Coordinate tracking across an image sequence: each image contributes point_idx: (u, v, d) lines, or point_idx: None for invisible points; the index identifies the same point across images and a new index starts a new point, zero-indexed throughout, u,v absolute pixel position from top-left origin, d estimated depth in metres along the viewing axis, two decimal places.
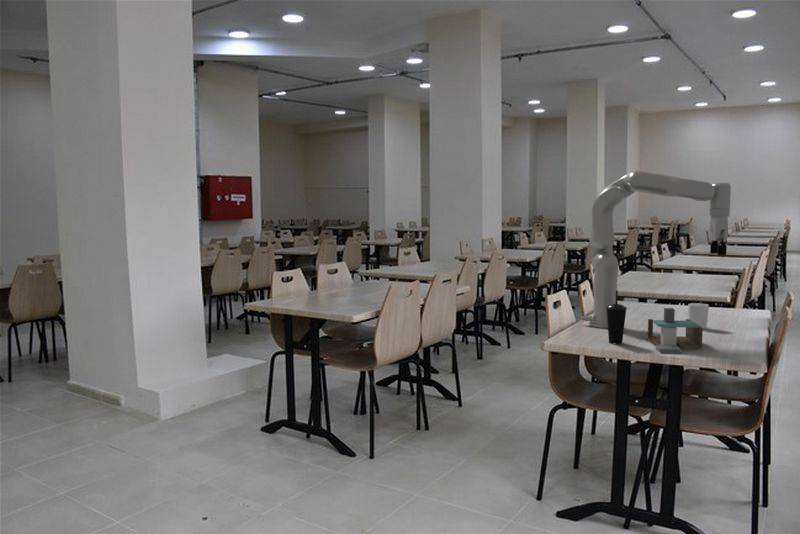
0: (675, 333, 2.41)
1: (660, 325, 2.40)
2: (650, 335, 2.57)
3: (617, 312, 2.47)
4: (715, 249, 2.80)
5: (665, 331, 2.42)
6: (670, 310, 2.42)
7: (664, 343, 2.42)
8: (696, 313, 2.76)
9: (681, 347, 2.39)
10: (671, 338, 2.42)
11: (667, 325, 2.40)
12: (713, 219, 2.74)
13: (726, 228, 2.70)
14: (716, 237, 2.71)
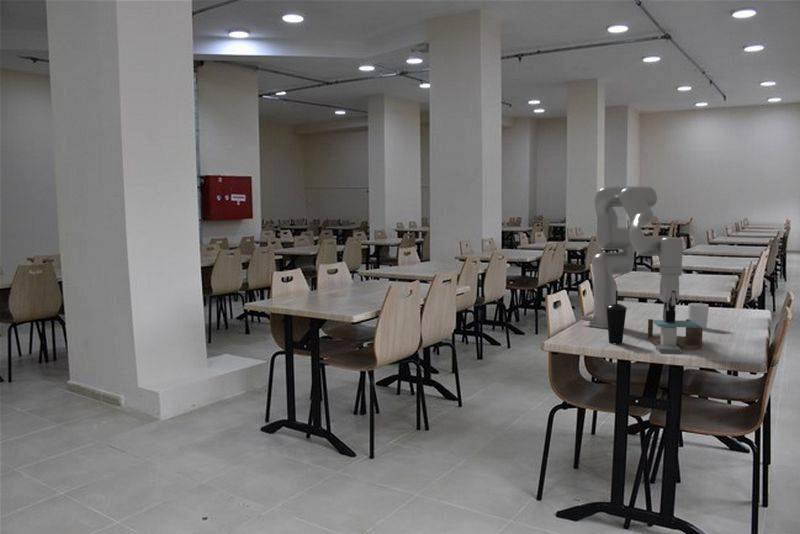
0: (675, 333, 2.41)
1: (660, 325, 2.40)
2: (650, 335, 2.57)
3: (617, 312, 2.47)
4: None
5: (665, 331, 2.42)
6: None
7: (664, 343, 2.42)
8: (696, 313, 2.76)
9: (681, 347, 2.39)
10: (671, 338, 2.42)
11: (667, 325, 2.40)
12: (663, 278, 2.41)
13: (677, 289, 2.37)
14: (666, 299, 2.38)
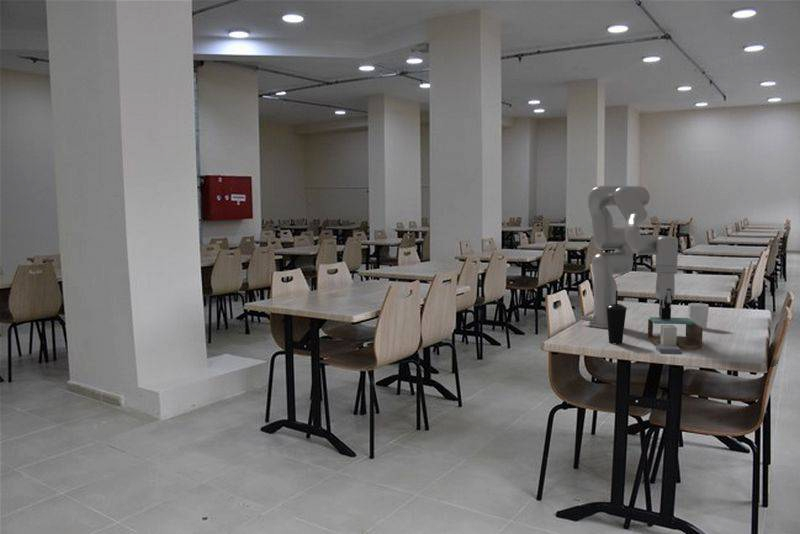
0: (675, 333, 2.41)
1: (656, 322, 2.46)
2: (650, 335, 2.57)
3: (617, 312, 2.47)
4: None
5: (665, 331, 2.42)
6: None
7: (664, 343, 2.42)
8: (696, 313, 2.76)
9: (681, 347, 2.39)
10: (671, 338, 2.42)
11: (663, 322, 2.46)
12: (659, 276, 2.47)
13: (672, 287, 2.44)
14: (662, 297, 2.45)
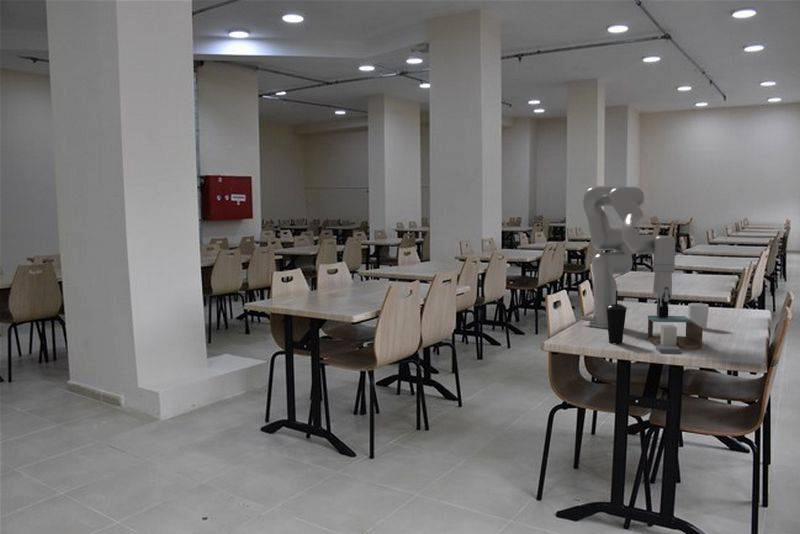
0: (675, 333, 2.41)
1: (654, 320, 2.50)
2: (650, 335, 2.57)
3: (617, 312, 2.47)
4: None
5: (665, 331, 2.42)
6: None
7: (664, 343, 2.42)
8: (696, 313, 2.76)
9: (681, 347, 2.39)
10: (671, 338, 2.42)
11: (661, 320, 2.50)
12: (656, 275, 2.51)
13: (670, 286, 2.48)
14: (659, 295, 2.48)
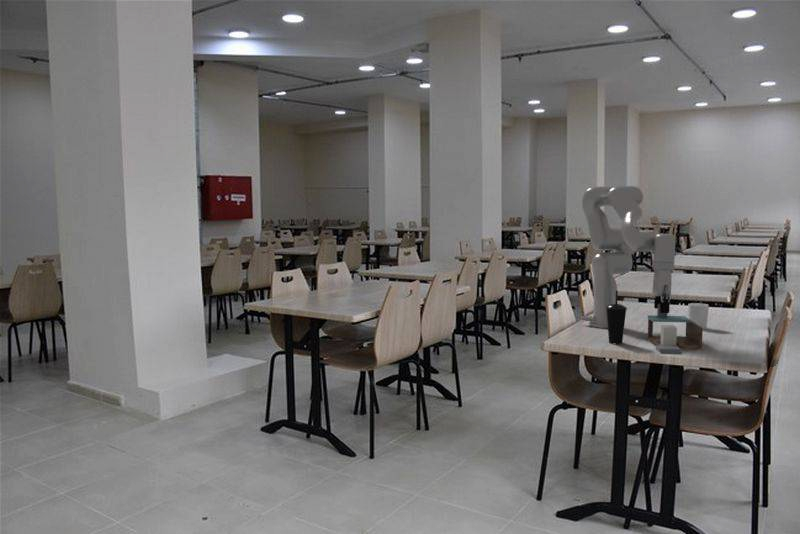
0: (675, 333, 2.41)
1: (654, 320, 2.50)
2: (650, 335, 2.57)
3: (617, 312, 2.47)
4: None
5: (665, 331, 2.42)
6: None
7: (664, 343, 2.42)
8: (696, 313, 2.76)
9: (681, 347, 2.39)
10: (671, 338, 2.42)
11: (661, 320, 2.50)
12: (656, 273, 2.52)
13: (669, 284, 2.48)
14: (658, 293, 2.49)
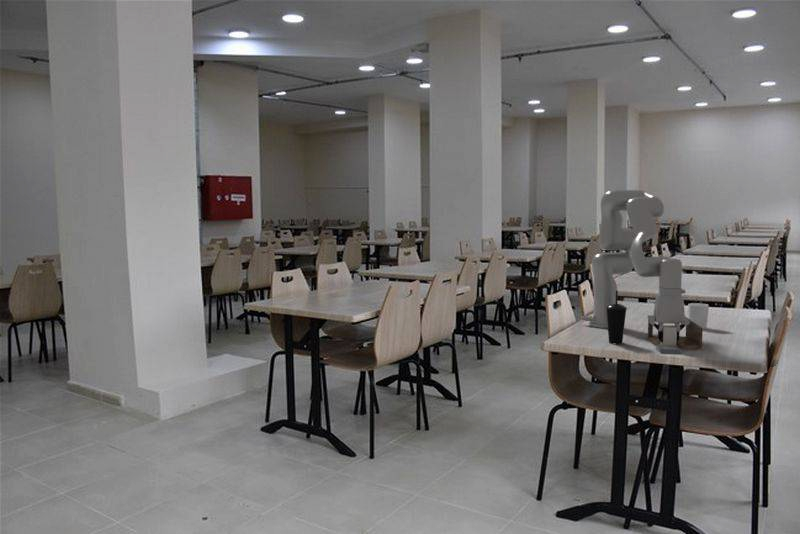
0: (675, 333, 2.41)
1: (654, 320, 2.50)
2: (650, 335, 2.57)
3: (617, 312, 2.47)
4: None
5: (665, 331, 2.42)
6: None
7: (664, 343, 2.42)
8: (696, 313, 2.76)
9: (681, 347, 2.39)
10: (671, 338, 2.42)
11: None
12: None
13: (656, 309, 2.42)
14: None
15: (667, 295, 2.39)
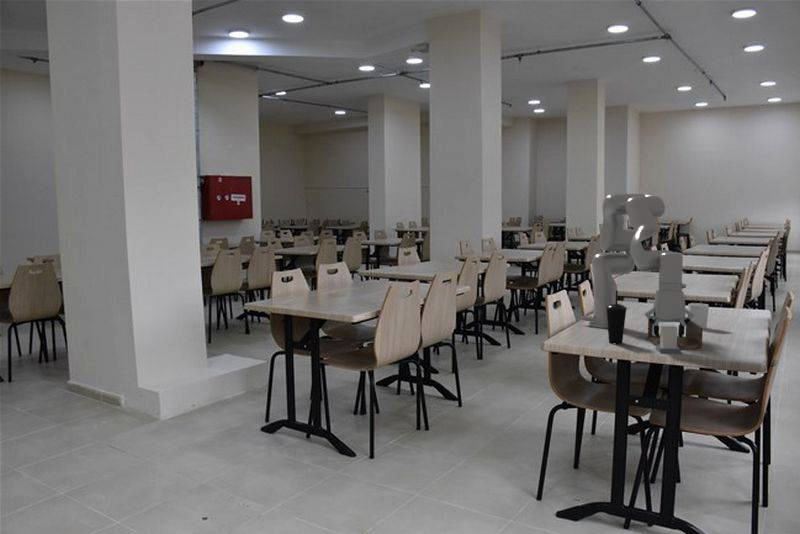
0: (675, 333, 2.33)
1: None
2: (650, 335, 2.57)
3: (617, 312, 2.47)
4: (679, 332, 2.35)
5: (665, 331, 2.34)
6: None
7: (664, 344, 2.34)
8: (696, 313, 2.76)
9: (681, 347, 2.39)
10: (671, 338, 2.34)
11: (661, 320, 2.50)
12: None
13: (656, 304, 2.34)
14: None
15: (667, 290, 2.31)
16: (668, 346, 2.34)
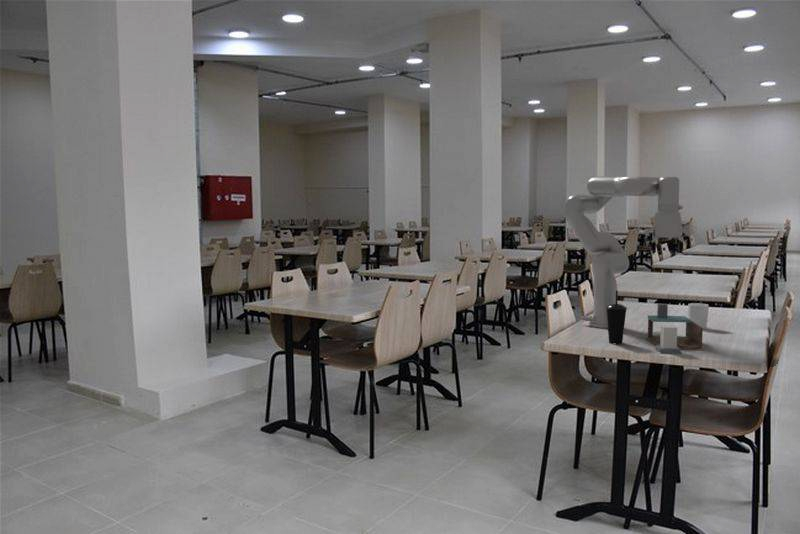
0: (675, 333, 2.33)
1: (654, 320, 2.50)
2: (650, 335, 2.57)
3: (617, 312, 2.47)
4: (679, 248, 2.59)
5: (665, 331, 2.34)
6: (663, 306, 2.52)
7: (664, 344, 2.34)
8: (696, 313, 2.76)
9: (681, 347, 2.39)
10: (671, 338, 2.34)
11: (661, 320, 2.50)
12: None
13: (655, 224, 2.58)
14: None
15: (665, 210, 2.55)
16: (668, 346, 2.34)
